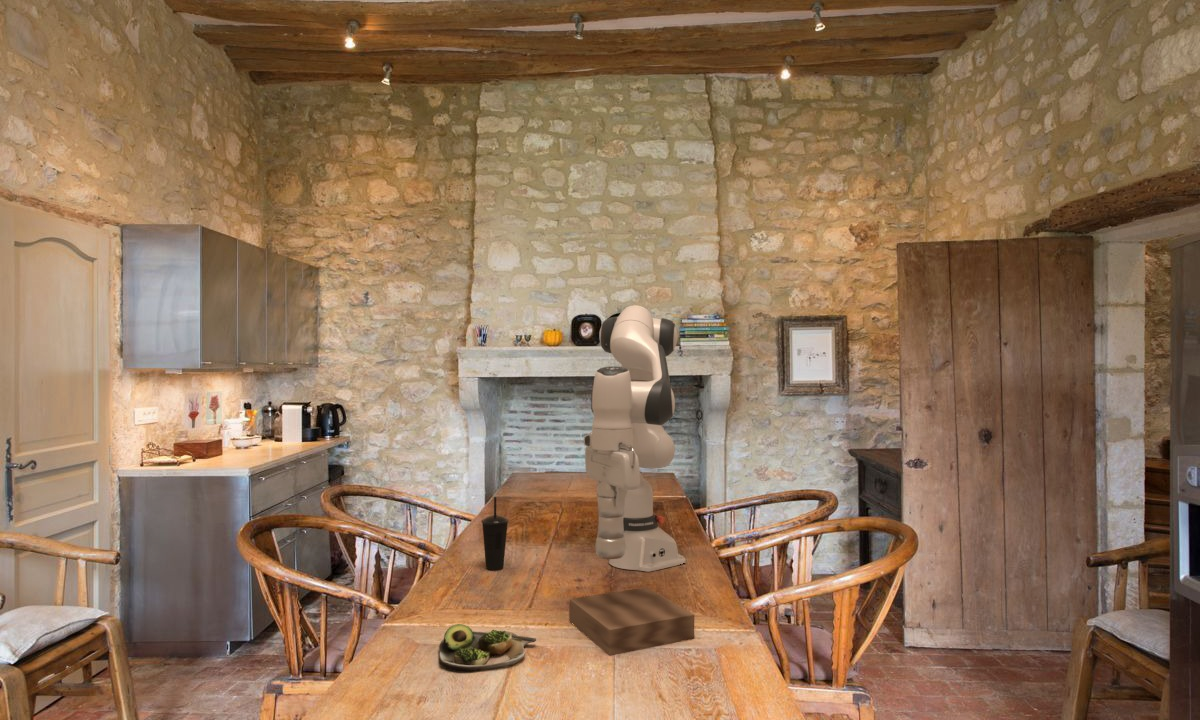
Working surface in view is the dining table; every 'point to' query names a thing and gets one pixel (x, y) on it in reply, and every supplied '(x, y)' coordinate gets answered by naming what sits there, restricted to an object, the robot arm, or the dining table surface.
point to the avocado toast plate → (479, 648)
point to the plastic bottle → (609, 523)
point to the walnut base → (630, 620)
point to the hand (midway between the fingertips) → (611, 504)
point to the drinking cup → (494, 540)
